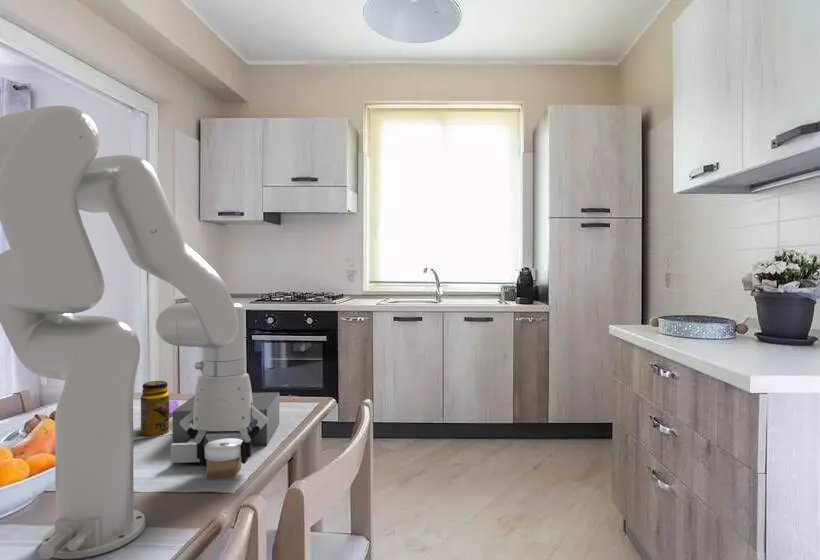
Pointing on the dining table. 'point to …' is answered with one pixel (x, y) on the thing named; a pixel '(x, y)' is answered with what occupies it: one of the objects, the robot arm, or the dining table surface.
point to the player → (265, 405)
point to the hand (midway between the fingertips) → (224, 460)
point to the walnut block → (223, 468)
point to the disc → (223, 449)
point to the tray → (189, 449)
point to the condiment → (154, 411)
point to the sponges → (172, 407)
